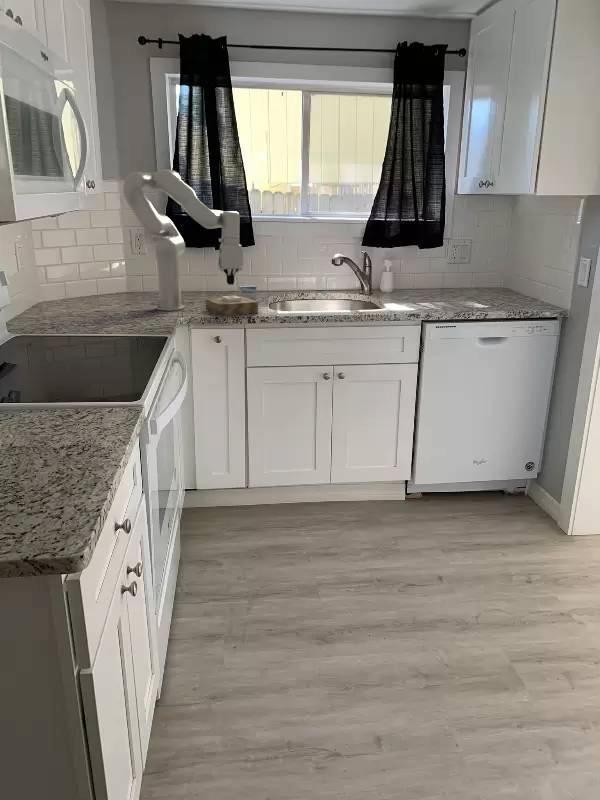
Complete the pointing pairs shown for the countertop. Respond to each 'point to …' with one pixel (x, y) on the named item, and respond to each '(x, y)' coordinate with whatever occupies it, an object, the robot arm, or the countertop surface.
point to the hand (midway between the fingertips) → (230, 284)
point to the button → (231, 298)
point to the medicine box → (248, 292)
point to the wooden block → (231, 306)
